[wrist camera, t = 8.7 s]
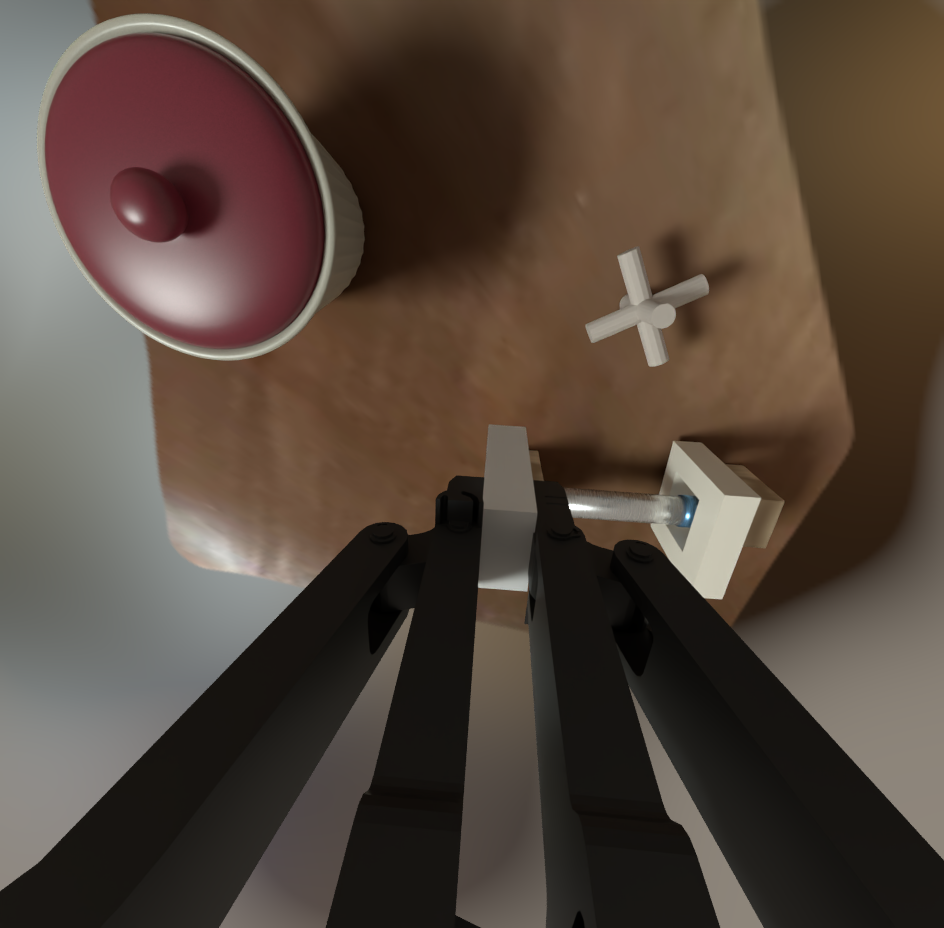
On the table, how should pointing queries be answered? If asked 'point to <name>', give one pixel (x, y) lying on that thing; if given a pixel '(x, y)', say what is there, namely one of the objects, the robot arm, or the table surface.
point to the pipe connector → (646, 307)
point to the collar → (706, 517)
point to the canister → (193, 188)
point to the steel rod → (632, 506)
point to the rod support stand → (769, 499)
